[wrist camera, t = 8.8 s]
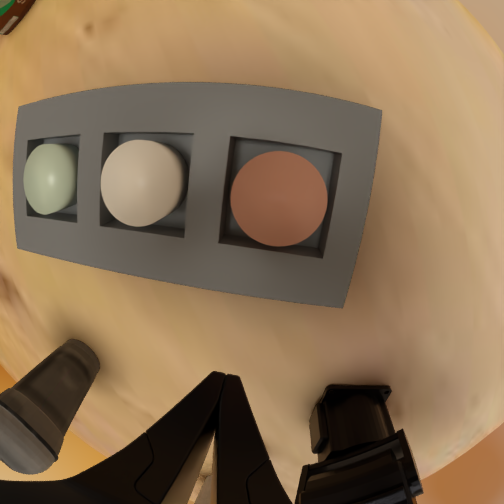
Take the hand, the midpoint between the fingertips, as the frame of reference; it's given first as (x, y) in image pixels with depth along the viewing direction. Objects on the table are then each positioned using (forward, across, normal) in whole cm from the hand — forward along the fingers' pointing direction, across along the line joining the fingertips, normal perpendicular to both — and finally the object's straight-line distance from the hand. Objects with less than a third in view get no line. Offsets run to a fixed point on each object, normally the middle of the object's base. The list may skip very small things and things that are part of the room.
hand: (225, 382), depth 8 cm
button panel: (+11, +7, -4) cm, 14 cm away
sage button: (+10, +15, -4) cm, 19 cm away
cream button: (+10, +7, -4) cm, 13 cm away
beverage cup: (+11, +16, +14) cm, 24 cm away
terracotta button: (+10, -1, -5) cm, 11 cm away
